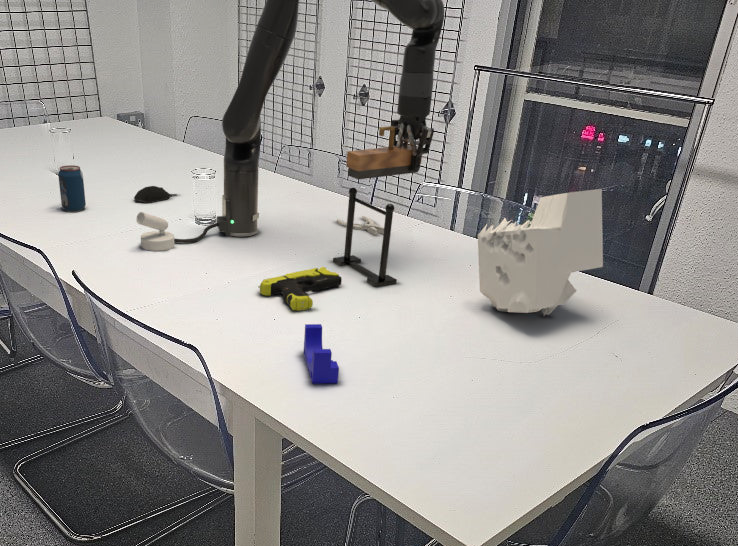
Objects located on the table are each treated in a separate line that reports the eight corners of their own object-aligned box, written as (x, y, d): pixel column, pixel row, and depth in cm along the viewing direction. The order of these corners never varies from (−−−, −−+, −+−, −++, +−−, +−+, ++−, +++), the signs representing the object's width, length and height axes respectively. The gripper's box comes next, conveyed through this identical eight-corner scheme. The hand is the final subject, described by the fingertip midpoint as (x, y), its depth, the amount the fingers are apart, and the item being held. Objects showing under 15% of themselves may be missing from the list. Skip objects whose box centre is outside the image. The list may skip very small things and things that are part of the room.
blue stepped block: (337, 383, 132) (340, 352, 129) (312, 383, 131) (314, 353, 128) (326, 353, 142) (329, 324, 139) (303, 353, 142) (305, 324, 139)
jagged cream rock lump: (533, 326, 148) (528, 197, 143) (477, 323, 162) (470, 205, 157) (604, 311, 157) (602, 188, 151) (545, 309, 171) (541, 197, 165)
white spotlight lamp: (127, 209, 188) (158, 202, 194) (130, 246, 193) (159, 238, 199) (149, 216, 183) (180, 209, 189) (151, 254, 188) (181, 245, 194)
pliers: (364, 213, 219) (395, 227, 208) (364, 218, 220) (394, 232, 209) (336, 216, 215) (366, 231, 204) (335, 222, 216) (365, 237, 204)
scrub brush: (357, 180, 172) (360, 131, 167) (345, 175, 176) (348, 128, 170) (420, 172, 179) (425, 126, 174) (407, 168, 183) (412, 122, 178)
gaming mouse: (181, 197, 235) (181, 184, 233) (141, 204, 227) (140, 191, 225) (171, 193, 239) (170, 180, 237) (130, 199, 231) (129, 186, 229)
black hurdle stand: (375, 287, 172) (383, 207, 163) (332, 261, 187) (338, 186, 177) (396, 283, 175) (406, 204, 165) (353, 258, 189) (359, 184, 179)
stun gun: (364, 285, 165) (323, 265, 176) (293, 301, 156) (254, 278, 167) (362, 298, 167) (322, 276, 177) (292, 314, 157) (254, 291, 168)
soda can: (89, 206, 223) (85, 165, 217) (82, 213, 217) (77, 171, 211) (66, 205, 224) (62, 164, 218) (58, 211, 218) (54, 169, 212)
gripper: (383, 89, 175) (377, 164, 184) (421, 98, 164) (412, 176, 173) (409, 88, 178) (402, 161, 187) (448, 96, 167) (438, 173, 176)
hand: (407, 168), depth 180 cm, fingers closed on scrub brush, 5 cm apart
